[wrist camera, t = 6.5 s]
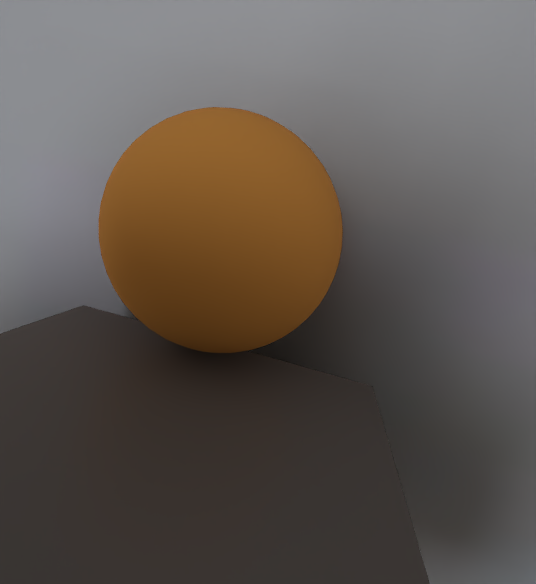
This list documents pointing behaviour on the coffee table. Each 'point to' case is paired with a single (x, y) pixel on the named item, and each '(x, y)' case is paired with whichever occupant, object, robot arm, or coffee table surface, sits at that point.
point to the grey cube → (189, 465)
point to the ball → (220, 230)
